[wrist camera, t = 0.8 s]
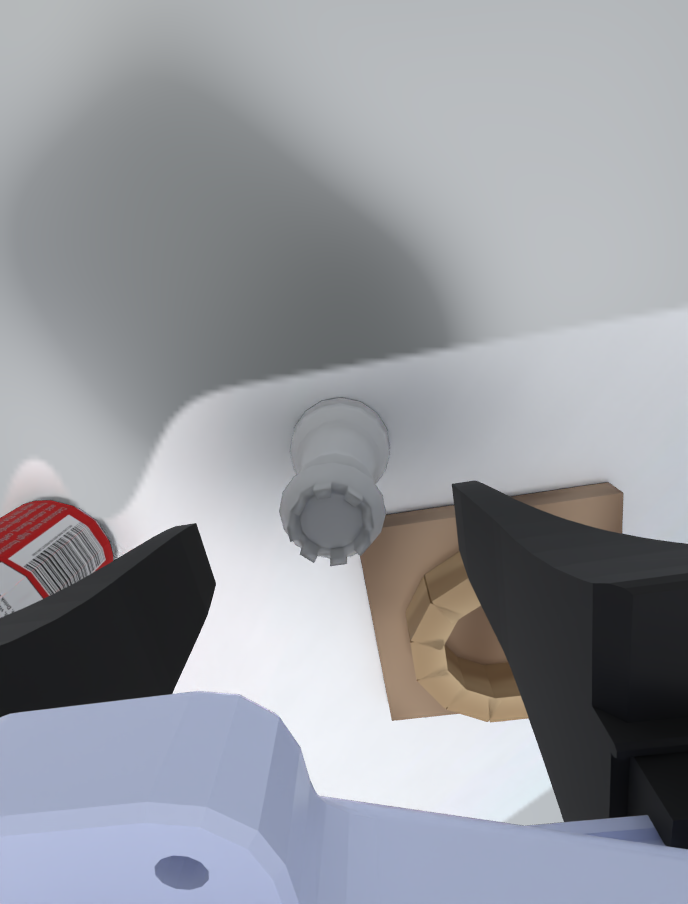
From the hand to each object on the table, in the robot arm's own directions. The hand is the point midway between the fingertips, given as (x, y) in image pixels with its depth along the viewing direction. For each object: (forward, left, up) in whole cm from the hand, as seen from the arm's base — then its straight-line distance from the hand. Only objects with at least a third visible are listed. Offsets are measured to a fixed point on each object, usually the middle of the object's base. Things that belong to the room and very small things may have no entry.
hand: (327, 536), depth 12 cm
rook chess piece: (0, 0, -9) cm, 9 cm away
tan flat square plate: (-6, +10, -8) cm, 14 cm away
